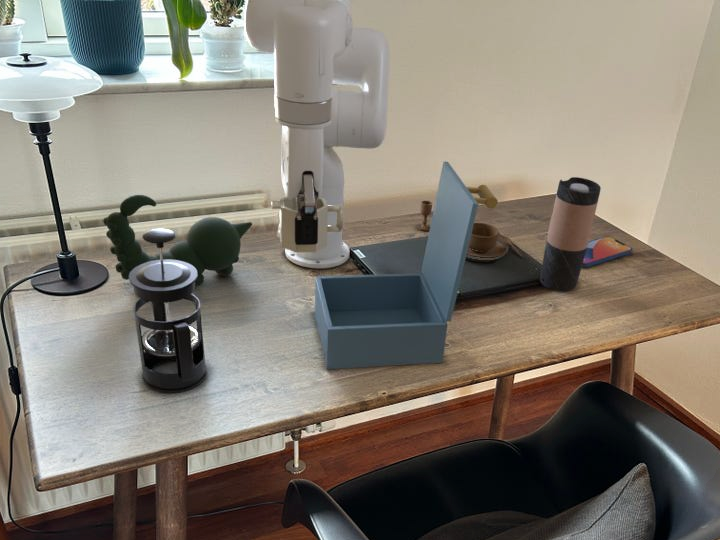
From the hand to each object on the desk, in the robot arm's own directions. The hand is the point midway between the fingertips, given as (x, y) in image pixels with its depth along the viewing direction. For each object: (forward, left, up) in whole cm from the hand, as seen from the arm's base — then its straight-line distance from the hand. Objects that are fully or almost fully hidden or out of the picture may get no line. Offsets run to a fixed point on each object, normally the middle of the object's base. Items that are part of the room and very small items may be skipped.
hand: (303, 231), depth 108 cm
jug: (0, 0, -2) cm, 2 cm away
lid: (+17, +14, -2) cm, 22 cm away
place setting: (+10, +51, -20) cm, 56 cm away
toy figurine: (-28, +7, -20) cm, 35 cm away
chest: (+9, +8, -20) cm, 23 cm away
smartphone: (+35, +61, -20) cm, 73 cm away
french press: (-12, -17, -20) cm, 29 cm away
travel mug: (+31, +44, -20) cm, 57 cm away
